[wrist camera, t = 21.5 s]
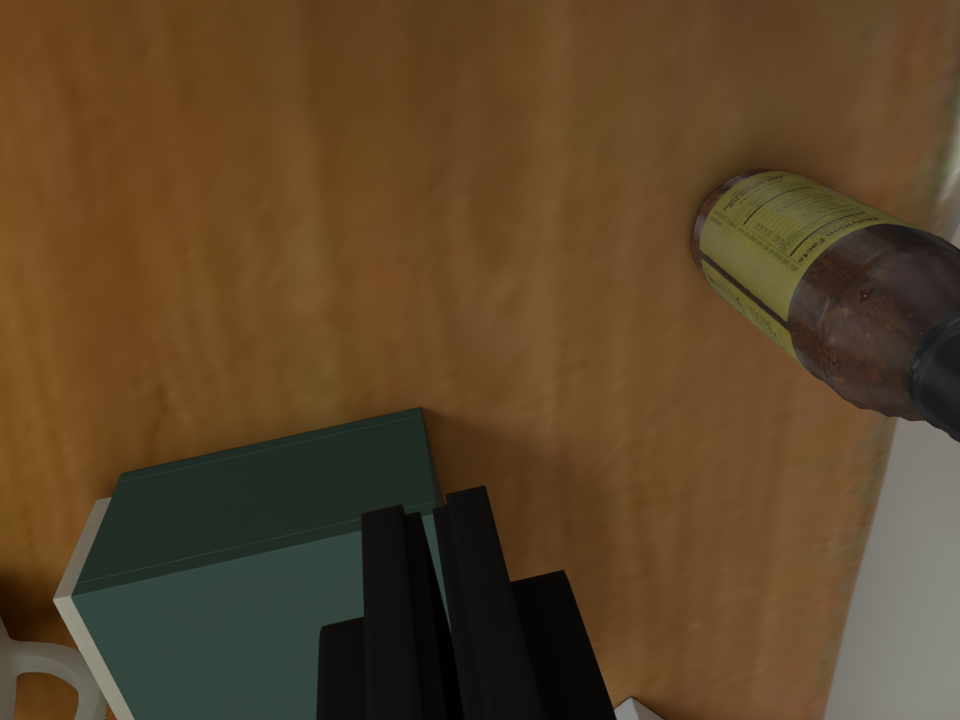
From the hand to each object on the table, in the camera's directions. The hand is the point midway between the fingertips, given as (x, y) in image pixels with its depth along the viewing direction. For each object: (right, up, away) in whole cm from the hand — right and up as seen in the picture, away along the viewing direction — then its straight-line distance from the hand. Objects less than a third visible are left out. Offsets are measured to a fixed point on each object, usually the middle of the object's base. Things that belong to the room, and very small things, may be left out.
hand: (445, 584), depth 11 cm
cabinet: (-8, -6, +32) cm, 34 cm away
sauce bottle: (+13, +9, +28) cm, 32 cm away
